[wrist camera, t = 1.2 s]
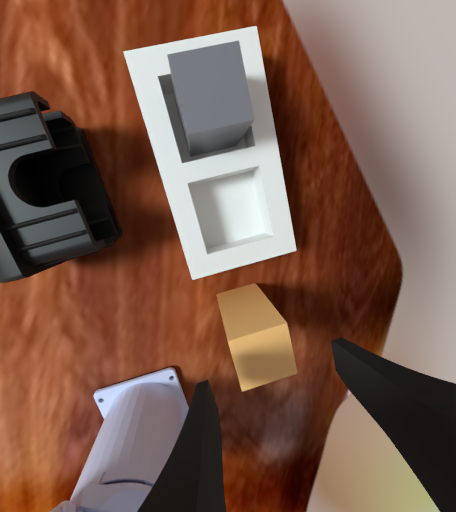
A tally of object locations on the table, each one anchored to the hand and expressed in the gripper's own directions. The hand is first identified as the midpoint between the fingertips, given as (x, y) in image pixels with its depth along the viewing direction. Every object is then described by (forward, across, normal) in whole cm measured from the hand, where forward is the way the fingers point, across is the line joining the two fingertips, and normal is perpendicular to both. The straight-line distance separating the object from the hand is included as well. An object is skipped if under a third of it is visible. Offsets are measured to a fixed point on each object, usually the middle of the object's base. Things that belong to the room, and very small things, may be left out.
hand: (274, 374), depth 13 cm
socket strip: (+10, -1, -12) cm, 16 cm away
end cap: (+11, +12, -13) cm, 21 cm away
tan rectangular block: (+10, 0, +1) cm, 10 cm away
